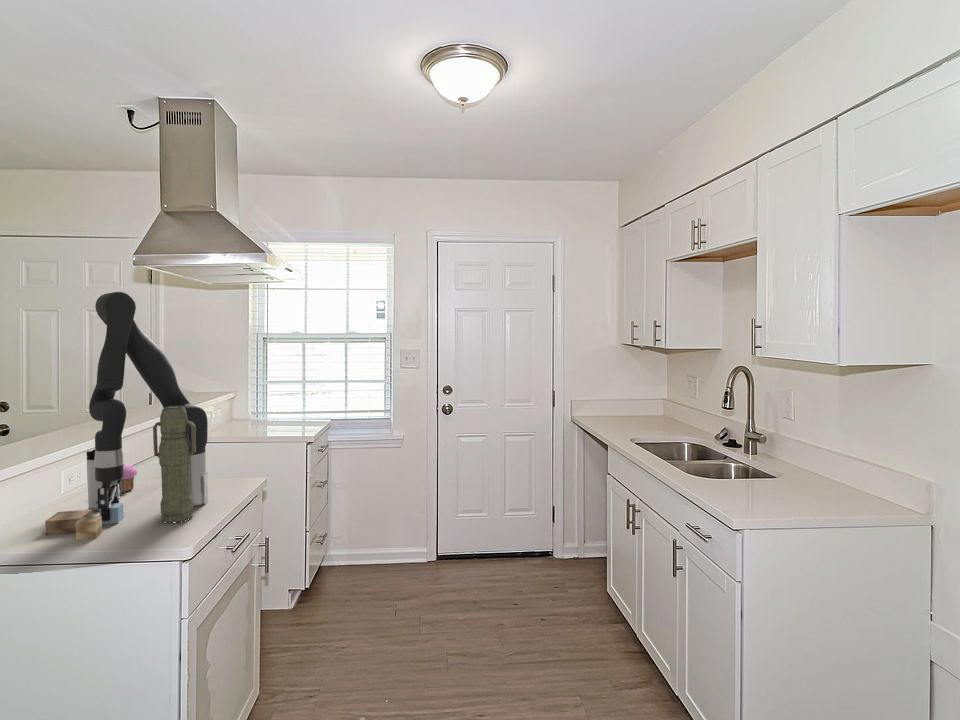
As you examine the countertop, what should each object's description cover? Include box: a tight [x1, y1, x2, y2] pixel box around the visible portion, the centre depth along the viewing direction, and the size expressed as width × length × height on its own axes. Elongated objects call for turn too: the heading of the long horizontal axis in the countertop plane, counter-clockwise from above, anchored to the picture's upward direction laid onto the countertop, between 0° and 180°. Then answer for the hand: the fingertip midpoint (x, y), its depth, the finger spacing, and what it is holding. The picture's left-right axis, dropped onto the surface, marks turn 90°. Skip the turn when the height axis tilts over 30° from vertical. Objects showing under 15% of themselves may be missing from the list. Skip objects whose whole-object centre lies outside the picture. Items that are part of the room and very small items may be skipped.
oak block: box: [75, 515, 103, 541], centre depth 175 cm, size 5×5×5 cm
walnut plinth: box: [44, 509, 93, 535], centre depth 181 cm, size 9×9×4 cm
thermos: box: [152, 406, 196, 524], centre depth 189 cm, size 9×12×35 cm
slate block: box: [98, 502, 125, 526], centre depth 188 cm, size 5×5×5 cm
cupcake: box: [121, 463, 138, 493], centre depth 221 cm, size 9×9×10 cm
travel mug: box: [86, 449, 105, 512], centre depth 201 cm, size 6×7×20 cm
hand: (110, 516), depth 188 cm, fingers open, 8 cm apart
